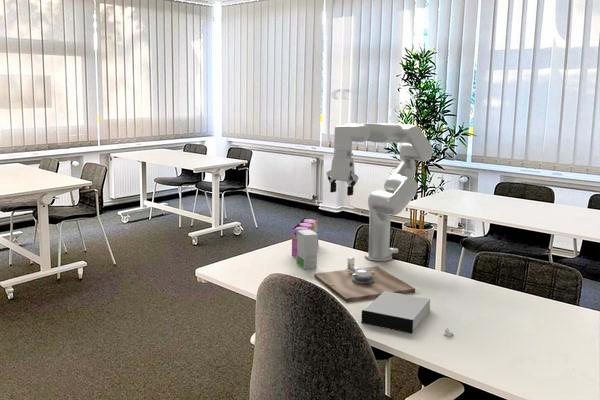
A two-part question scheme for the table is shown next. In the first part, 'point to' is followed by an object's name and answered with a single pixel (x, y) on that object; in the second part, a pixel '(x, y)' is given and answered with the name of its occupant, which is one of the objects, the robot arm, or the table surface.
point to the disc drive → (396, 311)
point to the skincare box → (307, 249)
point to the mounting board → (362, 284)
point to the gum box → (302, 225)
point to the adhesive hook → (448, 332)
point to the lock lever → (359, 271)
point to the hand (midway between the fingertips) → (341, 193)
